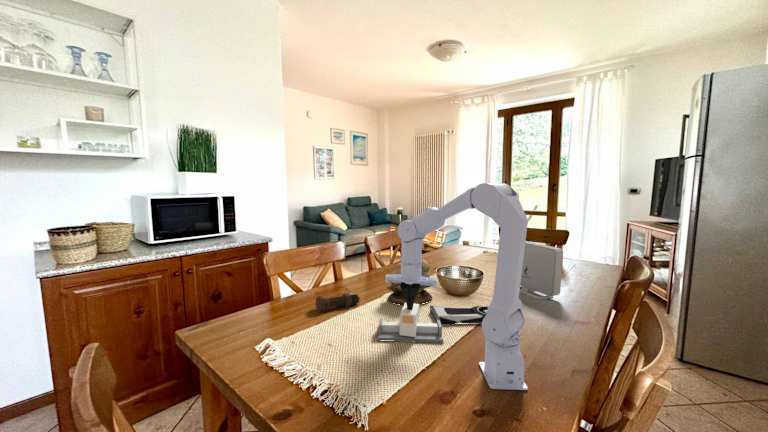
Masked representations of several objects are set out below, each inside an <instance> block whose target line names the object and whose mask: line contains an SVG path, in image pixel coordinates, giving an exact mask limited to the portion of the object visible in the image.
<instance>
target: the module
mask: <svg viewBox="0 0 768 432" xmlns="http://www.w3.org/2000/svg"><path fill="white" fill-rule="evenodd" d="M420 306H421V305H420V304H415V303H414V304H413V309H412V310H408V309H407V304H406V303H405V304H404V306H402V307H401V310H400V311H399V322H400V335H403V336H411V337H415V336H416V328H417V325H418V323H420Z"/></svg>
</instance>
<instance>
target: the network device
mask: <svg viewBox="0 0 768 432" xmlns="http://www.w3.org/2000/svg"><path fill="white" fill-rule="evenodd" d="M563 261H564V251H563V248H560V247H556V246H551V245H545V244H541V243H537V242H532V241H528V240H526V241H525V250H524V258H523V266H522V275H521V283H520V287H521V288H520V292H519V293H522V294H524V295H527V296H530V297H532V298H535V299H538V300H546V299H547V300H548V299H552V298H553V297H554V296H559V295H560V294H561V287H562V286H561V285H562V275H563V274H562V273H563ZM533 292H538V293H540V294H543V295H544V296H538V295H536V294H533Z"/></svg>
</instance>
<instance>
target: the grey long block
mask: <svg viewBox="0 0 768 432" xmlns="http://www.w3.org/2000/svg"><path fill="white" fill-rule="evenodd" d="M377 334H378V335H377V341H378V340H394V341H415V342H414V343H424V342H443V343H444V337H443V325H441V322H440V320H437V321H436V323H435V322H434V323H433V322H428V323H427V322H419V323H418V325H417V328H416V336H415V337H411V336H403V335H400V321H399V322H397V321H383V318H382V317H381V318H379V320H378V332H377Z"/></svg>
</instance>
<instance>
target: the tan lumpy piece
mask: <svg viewBox="0 0 768 432" xmlns="http://www.w3.org/2000/svg"><path fill="white" fill-rule="evenodd" d="M421 263H422V264H421V276H424V277H429V278H430V275H431V272H430V268H431V267H430V264H429V262H428V261H427V260H426V259H422V262H421ZM396 274H401V262H398V263H396V264H395V266H394V270H392V272H391V275H396ZM390 283H391V284H389V285H387V290H389V291H392V293H390V294H389V295H388V296H387V301H388V302H389V301H390V302H392V303H395V304H400V305H399V306H401V305H404V304H405V303H406V300H405V297H404V295H403V293H402V291H401V288H400V287H401V283H393V282H390ZM411 285H412V284H411ZM431 287H432V286H425V285H421V286H420V288H419V290H418V292H417V294H416V297H415V300H414V303H415V304H422V303H426V302H429V301H430V302H432V300H433V295H432V294H431V293H430V292H428V291H427V290H426V289H428V288H431ZM390 302H389V303H390ZM430 302H429V303H430ZM392 303H391V304H392ZM395 304H394V305H395ZM426 304H427V303H426Z"/></svg>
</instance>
